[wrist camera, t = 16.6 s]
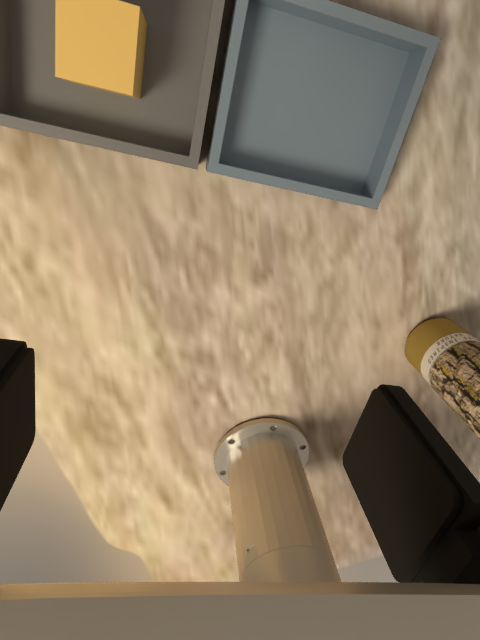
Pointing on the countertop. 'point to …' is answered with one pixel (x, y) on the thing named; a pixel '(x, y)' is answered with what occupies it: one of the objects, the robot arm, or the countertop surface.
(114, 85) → the ochre block
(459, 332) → the paper tube
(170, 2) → the charcoal tray
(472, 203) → the countertop surface
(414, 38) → the slate-blue tray
